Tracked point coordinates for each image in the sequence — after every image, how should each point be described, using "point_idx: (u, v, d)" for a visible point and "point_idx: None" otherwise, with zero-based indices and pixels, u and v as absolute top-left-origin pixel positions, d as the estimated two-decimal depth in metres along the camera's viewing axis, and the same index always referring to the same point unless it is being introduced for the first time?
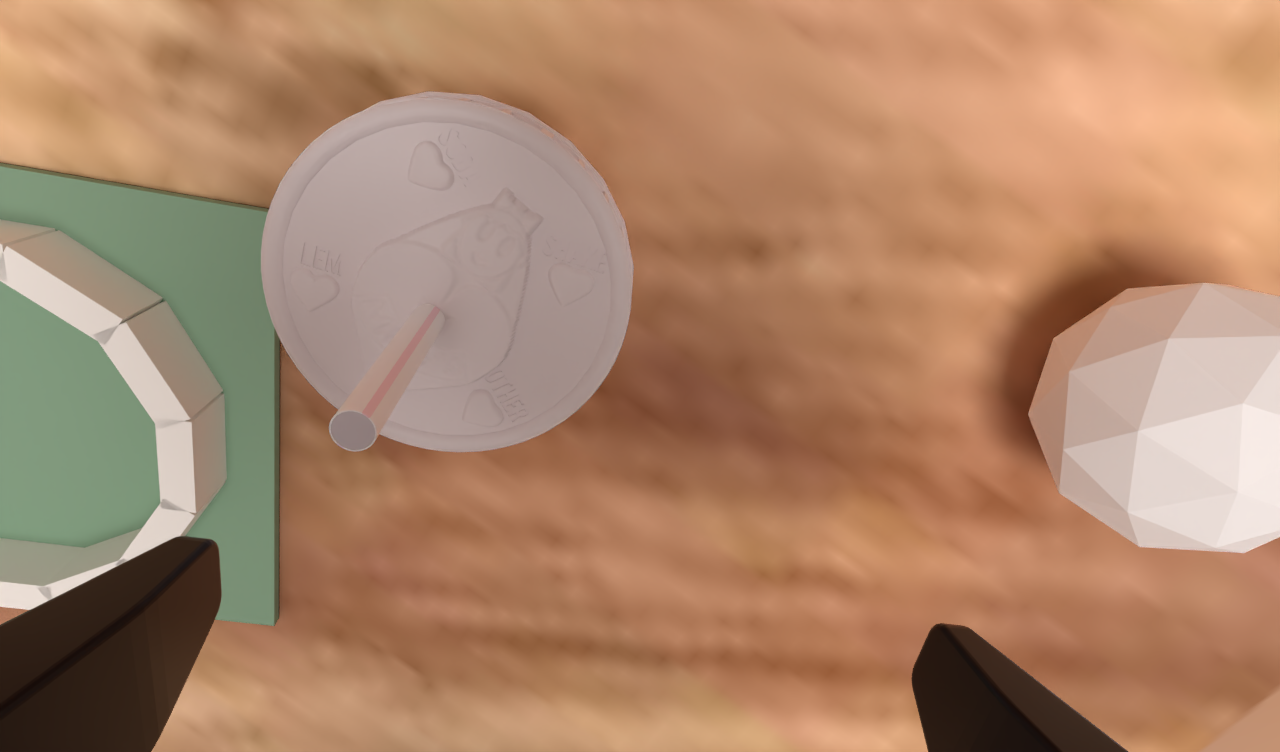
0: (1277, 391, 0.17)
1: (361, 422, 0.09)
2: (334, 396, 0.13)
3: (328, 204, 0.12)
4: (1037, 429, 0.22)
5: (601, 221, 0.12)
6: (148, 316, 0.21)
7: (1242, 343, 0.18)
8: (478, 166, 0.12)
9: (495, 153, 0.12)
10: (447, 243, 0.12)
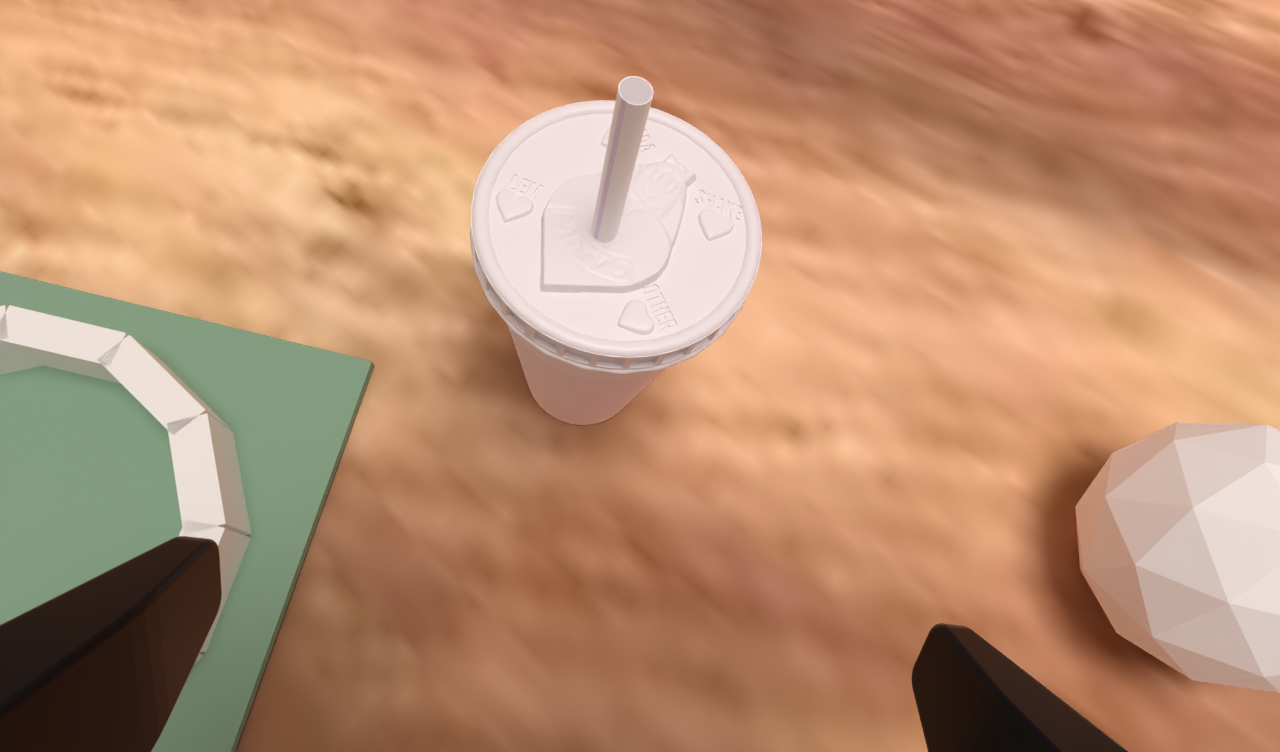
0: None
1: (639, 93, 0.12)
2: (507, 294, 0.15)
3: (536, 158, 0.16)
4: (1100, 576, 0.22)
5: (738, 184, 0.16)
6: (220, 427, 0.21)
7: (1235, 433, 0.21)
8: (652, 142, 0.16)
9: (664, 136, 0.17)
10: None
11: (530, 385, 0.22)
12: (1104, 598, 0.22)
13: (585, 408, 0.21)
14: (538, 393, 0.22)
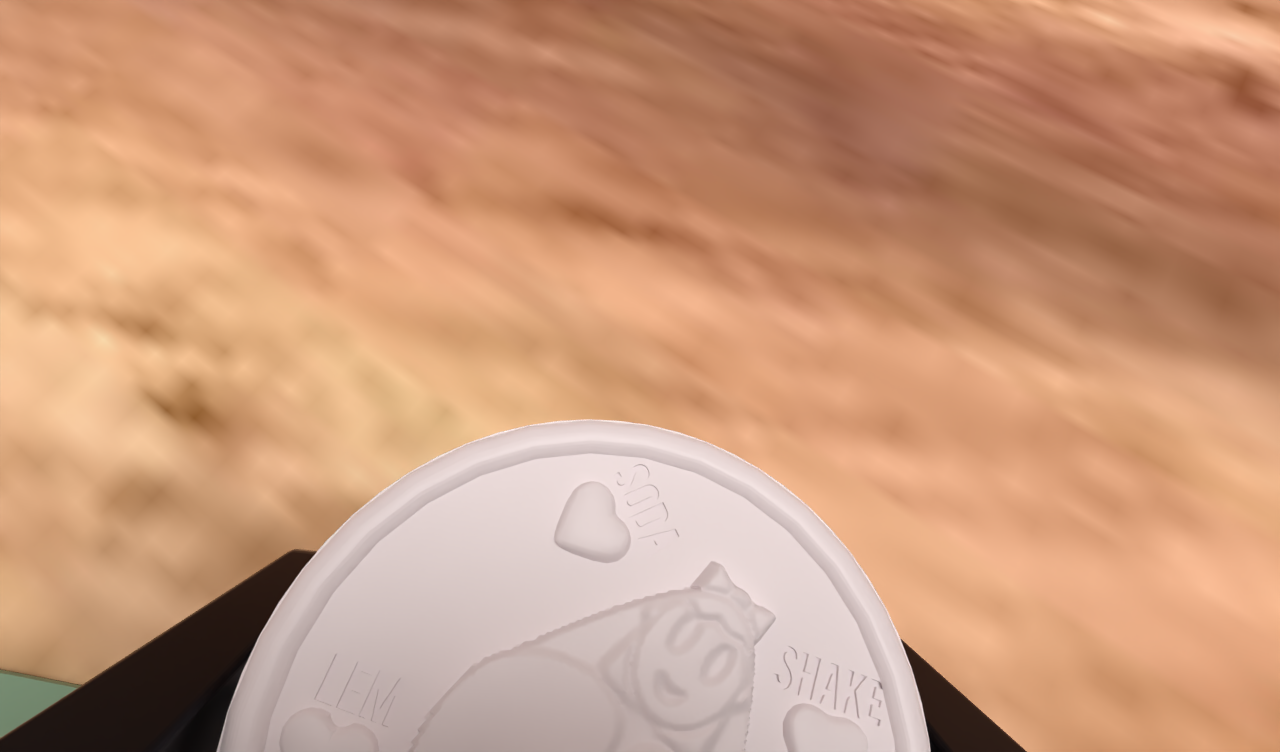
0: None
1: None
2: None
3: (397, 585, 0.07)
4: None
5: (871, 623, 0.07)
6: None
7: None
8: (671, 524, 0.07)
9: (700, 505, 0.07)
10: (613, 656, 0.07)
11: None
12: None
13: None
14: None
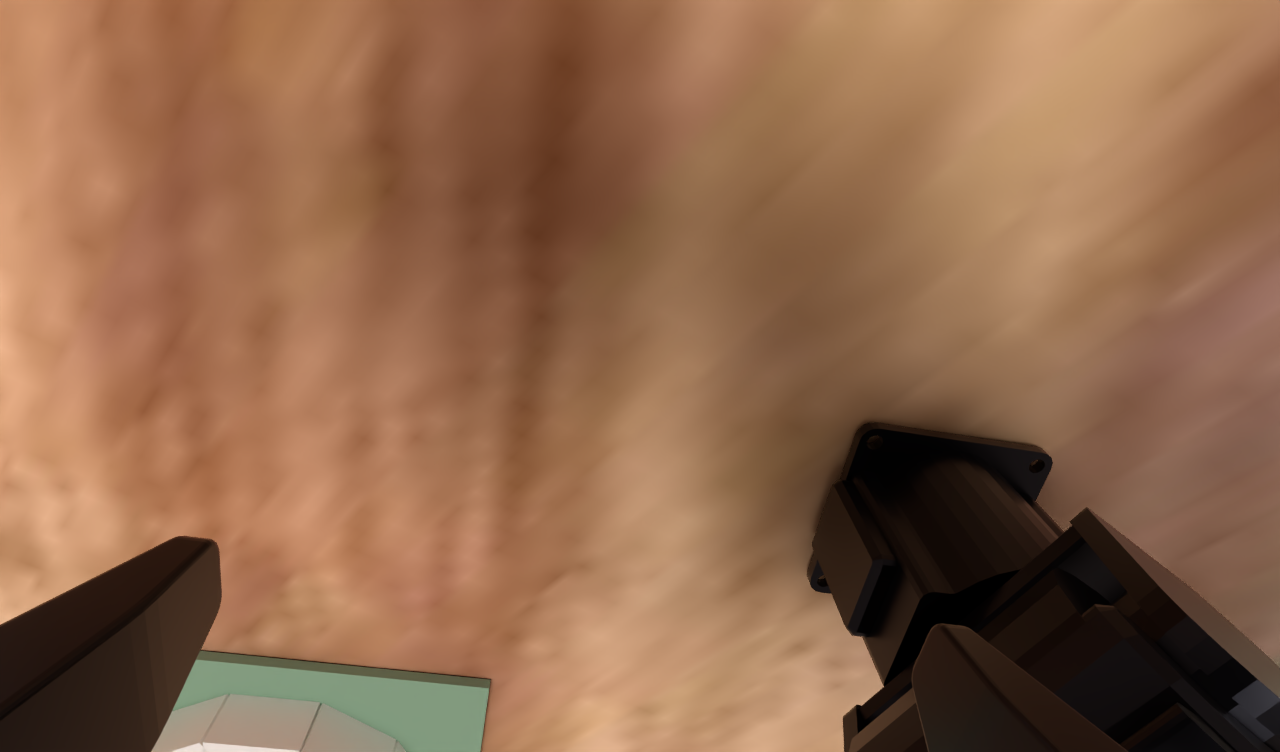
0: None
1: None
2: None
3: None
4: None
5: None
6: None
7: None
8: None
9: None
10: None
11: None
12: None
13: None
14: None
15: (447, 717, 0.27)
